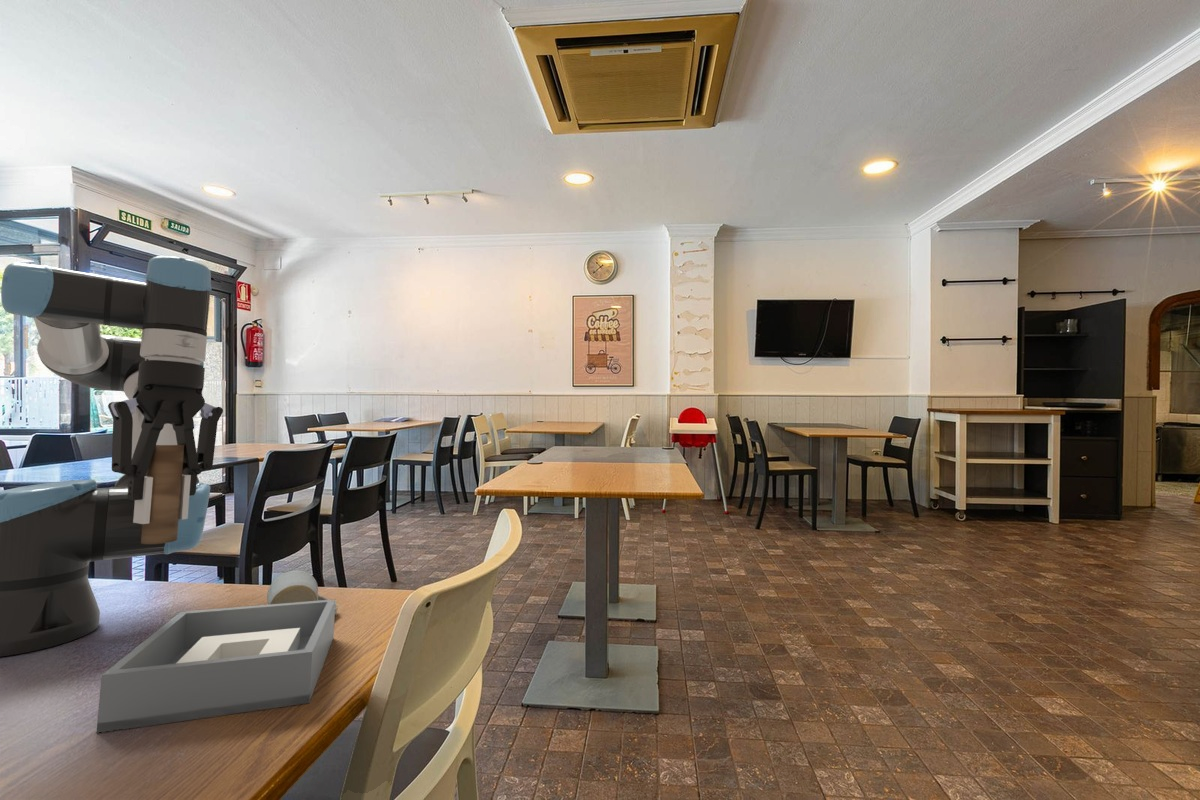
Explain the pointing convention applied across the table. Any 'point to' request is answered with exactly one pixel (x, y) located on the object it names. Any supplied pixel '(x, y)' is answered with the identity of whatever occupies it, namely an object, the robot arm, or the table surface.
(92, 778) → the table surface
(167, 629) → the grey box
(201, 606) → the table surface
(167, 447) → the walnut peg
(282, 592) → the ceramic mug
